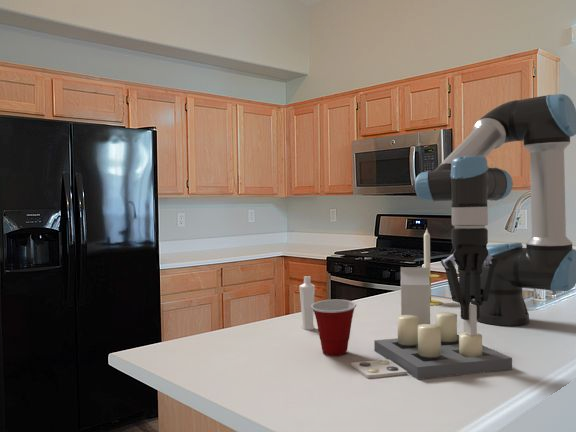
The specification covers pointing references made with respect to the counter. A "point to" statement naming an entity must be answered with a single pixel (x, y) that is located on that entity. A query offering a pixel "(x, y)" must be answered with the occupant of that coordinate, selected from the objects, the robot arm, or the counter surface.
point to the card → (378, 368)
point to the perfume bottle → (307, 303)
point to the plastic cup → (334, 324)
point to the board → (441, 359)
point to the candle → (427, 264)
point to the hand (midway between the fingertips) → (470, 333)
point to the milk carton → (415, 293)
